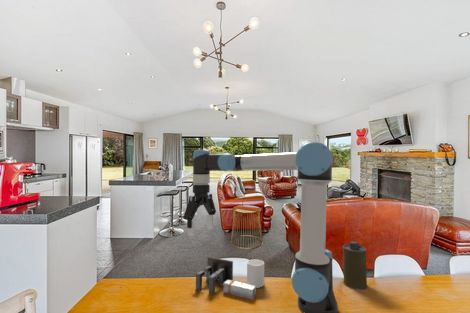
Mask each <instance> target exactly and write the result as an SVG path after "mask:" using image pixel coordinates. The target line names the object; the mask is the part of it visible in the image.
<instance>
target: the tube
mask: <svg viewBox="0 0 470 313" xmlns="http://www.w3.org/2000/svg"><path fill="white" fill-rule="evenodd" d="M222 287H223V289H222V290H223V293H225V294H229V295H233V296H237V297H241V298H244V299H249V300H254V298H255V297H256V296H257V288H256V286H254V285H250V284H247V283H245V282H240V281H237V280H226V281H224V284H223V286H222Z"/></svg>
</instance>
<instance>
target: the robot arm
mask: <svg viewBox="0 0 470 313" xmlns="http://www.w3.org/2000/svg"><path fill="white" fill-rule="evenodd" d="M334 162H335V156H334V154H333V152H332V150H330V147H328V146H327V145H326V144H324V143H322V142H318V141H311V142H306V143H305V144H302V146H300V148H298V150H297V151H296V152H294V151H293V152H278V153H277V152H274V153H258V154H253V153H252V154H236V155H234V154H232V153H227V152H224V153H211V151H210V150H209V149H195V150H194V151H193V156H192V169H193V170H192V193H193V195H189V196H188V202H187V205H186V209H185V212H184V214H183V220H186V222H187V223H186V227H187V236H189V237H194V236H195V232H194V231H195V220H194V218H195V215H196V214H197V211H198V209H199V207H201V206H204V208H205V211H206V212H207V214H206V216H207V217H206V229H207V230H213V229H214V227H213V225H214V222H213V221H214V215H216V212H217V210H216V207H215V203H214V200H213V193H210V191H211V188H210V187H211V186H210V182H211V179H210V174H211V173H210V172H212V171H213V172H217V171H218V172H242V171H243V172H245V171H247V172H248V171H251V172H252V171H297V181H299V183H300V184H301V199H300V202H301V203H300V228H299V229H300V231H299V235H300V238H299V250H298V251H297V252H296V253H295V255H294V256H295V257H294V258H295V260H294V271H293V273H292V275H291V276H292V277H291V285H292V288H293V290H294V292H295V293H296V294H297V295H298V298H297V305H298V308H299V310H301V312H303V313H339V305H338V302H337V299H336V295H335V293H334V289H333V287H334V285H333V281H334V280H333V260H334V259H333V253H332V251H330V250H329V249H327V248H326V238H327V236H326V235H327V234H326V233H327V232H326V231H327V230H326V228H327V200H328V199H327V195H328V194H327V193H328V192H327V190H328V189H327V188H328V187H327V186H328V185H329V184H331V182H332V181H333V180H332V178H333V176H332V174H333V170H332V169H333V166H334V164H335V163H334Z"/></svg>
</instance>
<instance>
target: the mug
mask: <svg viewBox="0 0 470 313" xmlns="http://www.w3.org/2000/svg"><path fill="white" fill-rule="evenodd" d="M246 265H247V266H246V284H250V285H254V286H256V289H260V287H261V288H263V287H264V285H265V262H264V261H263V260H262V259H257V258H256V259H255V258H254V259H253V258H252V259H250V260H247V261H246ZM262 286H263V287H262Z"/></svg>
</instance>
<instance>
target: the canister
mask: <svg viewBox="0 0 470 313" xmlns="http://www.w3.org/2000/svg"><path fill="white" fill-rule="evenodd" d="M342 257H343V258H342V260H343V264H342V265H343V266H342V267H343V285H345V286H346V287H348V288H349V289H353V290H361V291H362V289H363V290H365V289H367V288H368V284H367V283H368V282H367V280H368V279H367V274H368V272H367V248H366V247H364V246H362V245H361V244H359V242H358V241H353V240H352V241H350V242H349V244H344V245H342Z"/></svg>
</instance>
